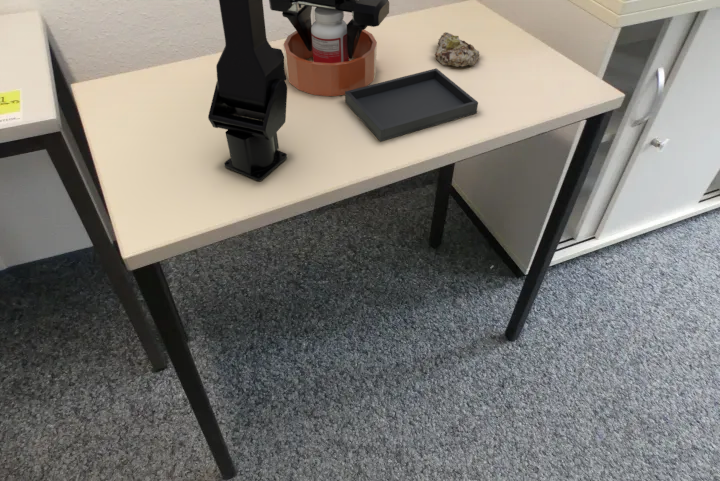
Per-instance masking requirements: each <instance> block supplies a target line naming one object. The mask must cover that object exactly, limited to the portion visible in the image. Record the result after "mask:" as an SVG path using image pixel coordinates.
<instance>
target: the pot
mask: <svg viewBox="0 0 720 481" xmlns="http://www.w3.org/2000/svg"><path fill="white" fill-rule="evenodd" d="M377 47H378V41H377V39H376V38H375V36H374V35H373V34H372V33H371V32H370V31H368V30H366V29H364V30H362V32H361V35H360V38H359V41H358V44H357V47H356V50H355V53H354V56H353V57H352V58H353V59H349V61H346V62H338V63H320V62H313V60H308V59H311V58H313V50H312V51H308V49H307V47H306V46H305V44H304V42H303V40H302V39H301V37H300V35H299V34H298V32H297V31H296V30H295V31H294V32H292V33H289V35H287V37H286V39H285V40H284V42H283V55H284V64H285V73H286V78H287V79H288V82H289V84H291V85H292V86H293V87H295V89H297V90H298V91H301V92H303V93H307V94H310V95H313V96H323V97H337V96H345V91H349V90H353V89H357V88H361V87H365V86H369V85H371V83H373V82H374V81H375V78H376V74H377V51H378V50H377V49H378V48H377Z"/></svg>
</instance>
